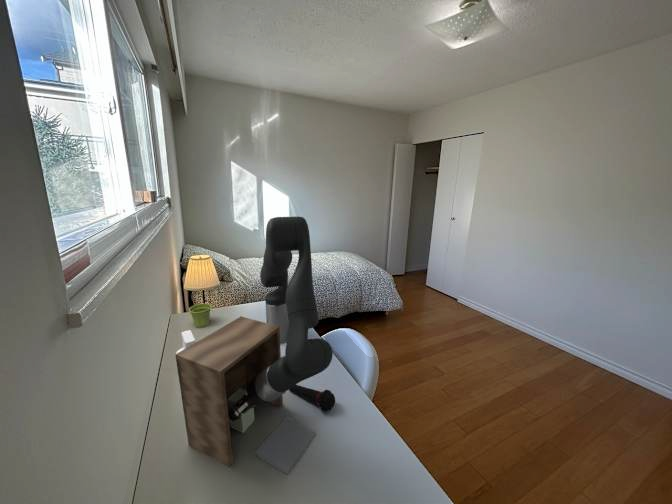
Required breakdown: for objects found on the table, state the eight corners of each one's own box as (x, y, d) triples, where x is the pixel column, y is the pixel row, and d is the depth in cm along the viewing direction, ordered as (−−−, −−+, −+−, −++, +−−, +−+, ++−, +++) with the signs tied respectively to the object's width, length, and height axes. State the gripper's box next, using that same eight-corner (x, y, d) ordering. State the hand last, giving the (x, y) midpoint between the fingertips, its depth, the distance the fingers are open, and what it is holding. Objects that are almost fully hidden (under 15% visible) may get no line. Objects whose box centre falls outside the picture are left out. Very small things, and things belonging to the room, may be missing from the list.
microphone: (281, 397, 89) (331, 418, 78) (275, 385, 87) (326, 405, 76) (291, 383, 93) (340, 401, 82) (285, 371, 91) (335, 388, 80)
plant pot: (207, 329, 124) (205, 312, 122) (186, 329, 124) (184, 312, 122) (216, 320, 133) (214, 303, 131) (197, 319, 133) (195, 303, 131)
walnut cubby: (188, 444, 69) (175, 354, 63) (246, 390, 88) (240, 316, 81) (230, 468, 63) (220, 371, 57) (282, 404, 82) (279, 326, 76)
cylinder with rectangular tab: (175, 364, 100) (171, 334, 97) (202, 355, 105) (199, 327, 102) (179, 377, 93) (175, 346, 90) (208, 367, 98) (204, 337, 96)
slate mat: (286, 418, 77) (286, 417, 77) (316, 434, 72) (316, 432, 72) (255, 454, 67) (255, 452, 67) (287, 475, 62) (287, 473, 62)
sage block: (242, 414, 78) (239, 387, 76) (254, 420, 76) (252, 393, 74) (230, 426, 74) (227, 399, 72) (243, 433, 72) (240, 404, 70)
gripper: (277, 356, 74) (246, 381, 82) (239, 391, 61) (206, 417, 69) (294, 378, 73) (261, 401, 81) (259, 419, 60) (223, 441, 68)
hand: (236, 408), depth 75 cm, fingers closed on sage block, 4 cm apart
